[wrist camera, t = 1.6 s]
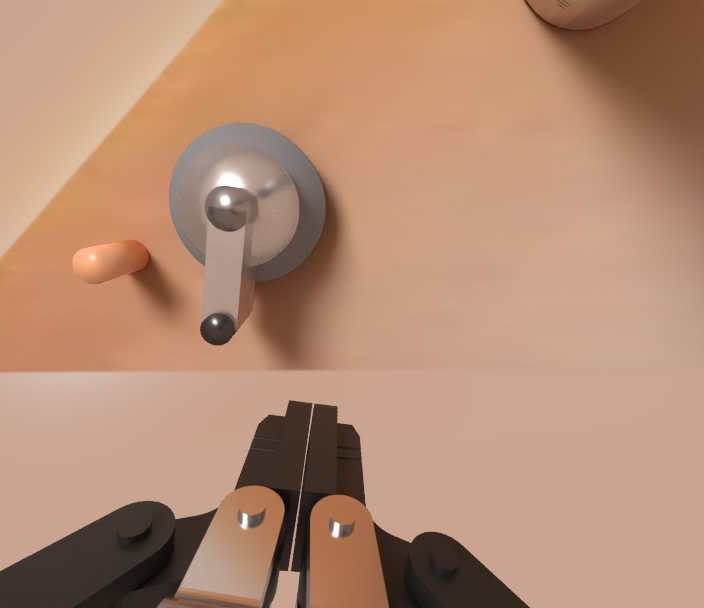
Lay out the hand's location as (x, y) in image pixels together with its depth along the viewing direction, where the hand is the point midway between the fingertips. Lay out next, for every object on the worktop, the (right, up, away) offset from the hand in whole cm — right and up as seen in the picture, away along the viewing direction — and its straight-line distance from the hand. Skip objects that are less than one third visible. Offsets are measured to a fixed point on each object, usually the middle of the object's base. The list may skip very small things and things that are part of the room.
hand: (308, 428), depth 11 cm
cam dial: (-6, +8, +12) cm, 16 cm away
